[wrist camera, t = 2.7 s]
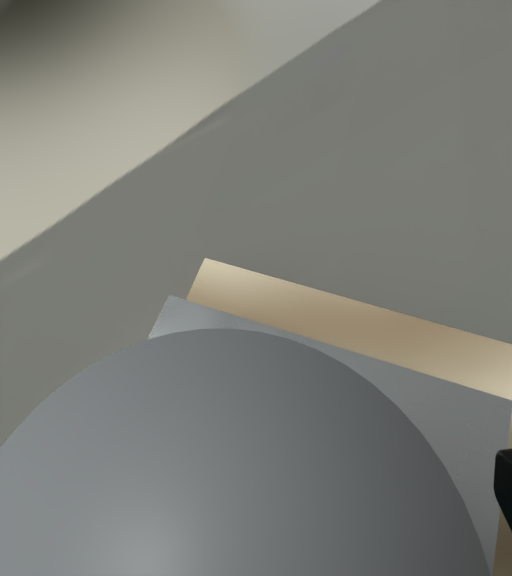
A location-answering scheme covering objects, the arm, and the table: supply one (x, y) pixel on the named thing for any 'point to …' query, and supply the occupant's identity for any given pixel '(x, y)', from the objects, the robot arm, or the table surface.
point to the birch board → (366, 339)
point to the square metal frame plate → (403, 410)
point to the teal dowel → (227, 470)
